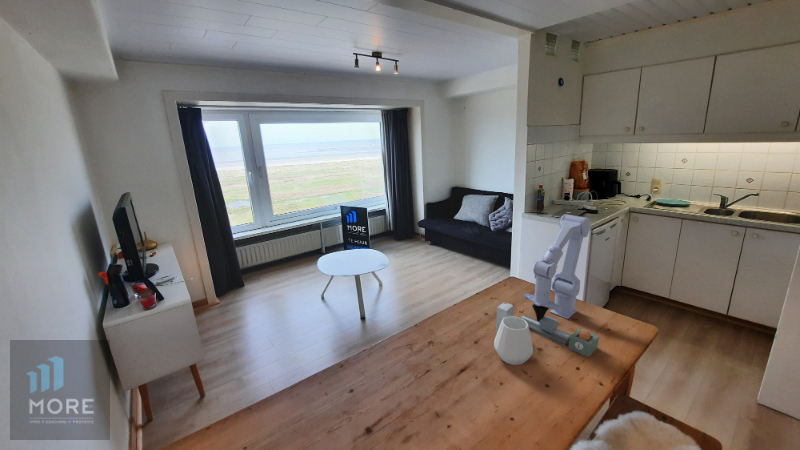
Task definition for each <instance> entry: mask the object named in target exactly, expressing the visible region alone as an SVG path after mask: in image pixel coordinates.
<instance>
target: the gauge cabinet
mask: <svg viewBox="0 0 800 450" xmlns="http://www.w3.org/2000/svg"><path fill="white" fill-rule="evenodd" d="M580 330H584V329H582V328H580V327H579V328H577V329H576V331H574V332H573V333H572V334H571V336H570V340H569V342H568V349H569V350H571V351H573V352H576V353H578V354H580V355H582V356H583V357H586V358H590V357H591V356H592V354H594V352H595V351H596V350H597V349H598V348H599V347H598V345H599V339H600V335H597V334H594V333H593V332H590V334H591V335H590V341H589V342H588V341H586V340H583V339H581V338H579V331H580Z"/></svg>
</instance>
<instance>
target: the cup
mask: <svg viewBox="0 0 800 450" xmlns="http://www.w3.org/2000/svg"><path fill="white" fill-rule="evenodd" d="M493 344H494V345H493V347H494V349H495V351H496V353H497V355H498V356H499V358H500V359H501V360H502V361H503V362H505V363H506V364H508V365H513V366H517V365H518V366H520V365H523V364H524V363H526V362H527V361H528V360H529V359H530V358H531V356H532V355H533V353H534V348H533V347H534V346H533V342H532V337H531V331H530V330H529V327H528V323H527V322H526V321H525V320H524V319H522V318H521V317H519V316H514V315H513V316H508V317H505V318H503V320H502V322H501V324H500V327H499V330H498V332H497V334H495V338H494V341H493Z"/></svg>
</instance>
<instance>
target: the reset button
mask: <svg viewBox="0 0 800 450" xmlns="http://www.w3.org/2000/svg"><path fill="white" fill-rule="evenodd" d="M590 333H591V332H590V331H588V330H586V329H583V330H580V331H579V338H581V339H583V340H586V341H588V342H589V341H590V335H591V334H590Z"/></svg>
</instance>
